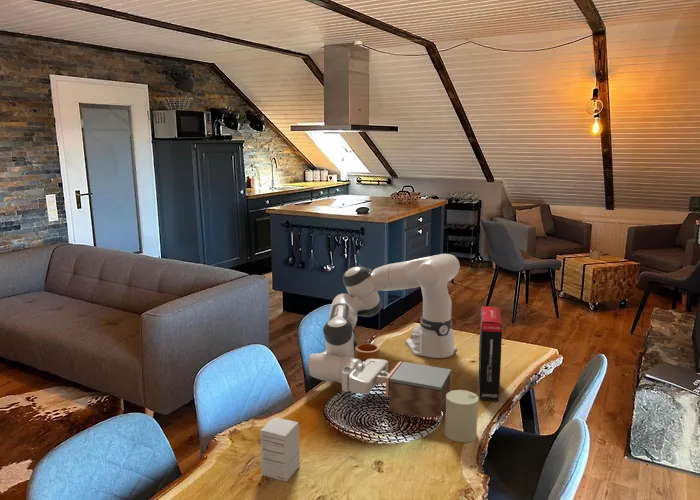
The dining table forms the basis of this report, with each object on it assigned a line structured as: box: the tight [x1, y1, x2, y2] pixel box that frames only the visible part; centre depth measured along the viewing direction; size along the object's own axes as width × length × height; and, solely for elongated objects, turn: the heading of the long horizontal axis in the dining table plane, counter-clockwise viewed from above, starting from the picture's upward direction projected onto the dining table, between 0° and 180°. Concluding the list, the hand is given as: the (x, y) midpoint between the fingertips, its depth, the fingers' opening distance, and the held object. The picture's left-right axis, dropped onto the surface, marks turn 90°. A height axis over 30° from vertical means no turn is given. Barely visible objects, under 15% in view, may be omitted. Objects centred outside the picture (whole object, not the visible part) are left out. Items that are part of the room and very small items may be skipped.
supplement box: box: [259, 417, 301, 482], centre depth 138 cm, size 7×7×13 cm
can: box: [443, 389, 480, 443], centre depth 156 cm, size 9×9×12 cm
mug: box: [354, 342, 380, 362], centre depth 201 cm, size 9×12×9 cm
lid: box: [385, 360, 452, 398], centre depth 171 cm, size 17×14×6 cm
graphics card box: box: [478, 305, 503, 402], centre depth 182 cm, size 17×7×27 cm, turn 168°
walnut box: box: [388, 373, 452, 417], centre depth 172 cm, size 16×14×10 cm
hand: (392, 378), depth 175 cm, fingers closed, pressing on lid
